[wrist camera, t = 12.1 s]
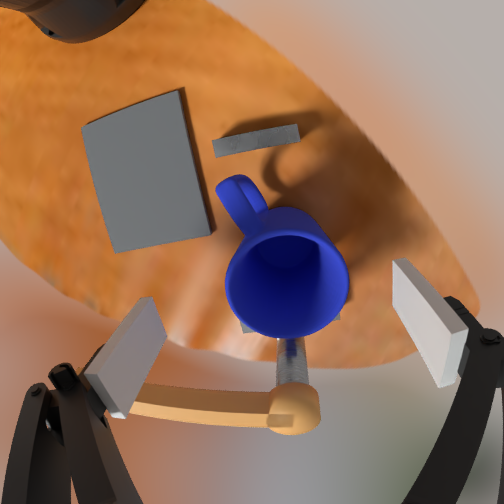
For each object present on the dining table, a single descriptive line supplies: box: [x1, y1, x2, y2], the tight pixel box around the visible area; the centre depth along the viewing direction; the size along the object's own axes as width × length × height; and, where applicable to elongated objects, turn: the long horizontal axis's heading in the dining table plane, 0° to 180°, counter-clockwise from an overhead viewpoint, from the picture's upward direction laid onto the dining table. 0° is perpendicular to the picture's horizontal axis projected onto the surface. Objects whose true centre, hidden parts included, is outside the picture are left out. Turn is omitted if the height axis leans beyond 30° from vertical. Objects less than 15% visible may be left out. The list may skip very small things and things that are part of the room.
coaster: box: [81, 90, 212, 253], centre depth 27 cm, size 14×11×1 cm
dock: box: [212, 124, 340, 387], centre depth 23 cm, size 19×10×12 cm, turn 12°
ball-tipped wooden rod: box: [75, 367, 321, 435], centre depth 18 cm, size 19×4×3 cm, turn 93°
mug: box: [216, 174, 349, 339], centre depth 24 cm, size 8×12×10 cm
